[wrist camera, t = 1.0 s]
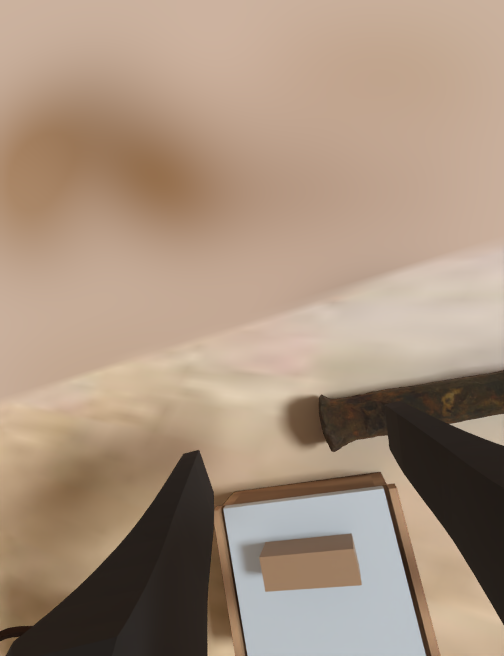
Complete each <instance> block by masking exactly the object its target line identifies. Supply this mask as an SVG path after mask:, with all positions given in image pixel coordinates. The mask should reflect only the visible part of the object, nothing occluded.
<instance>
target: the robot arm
mask: <svg viewBox="0 0 504 656" xmlns="http://www.w3.org/2000/svg"><path fill="white" fill-rule="evenodd" d="M384 408H385V415H386V423H387V431H388V439H389V447H390V450H391V452H392V454H393V456H394V458H395V459H396V461H397V463H398V465H399V466H400V468H401V470H402V471H403V473H404V475H405V476H406V477H407V479H408V480H409V481H410V483H411V484H412V485H413V487H414V488H415V489H416V491H417V492H418V494H419V495H420V496H421V498H422V499H423V500H424V502H425V503H426V504H427V506H428V507H429V508H430V510H431V511H432V512H433V514H434V515H435V516H436V518H437V519H438V520H439V522H440V523H441V524H442V526H443V527H444V528H445V530H446V531H447V533H448V534H449V535H450V537H451V538H452V540H453V541H454V543H455V544H456V546H457V548H458V549H459V551H460V552H461V554H462V556H463V557H464V559H465V560H466V562H467V564H468V565H469V567H470V569H471V570H472V572H473V573H474V575H475V577H476V578H477V580H478V582H479V583H480V585H481V587H482V589H483V590H484V592H485V594H486V595H487V597H488V599H489V600H490V602H491V604H492V605H493V607H494V609H495V611H496V612H497V614H498V616H499V618H500V619H501V621H502V623H503V625H504V446H502V445H499V444H496V443H494V442H491V441H488V440H485V439H483V438H480V437H478V436H475V435H473V434H470V433H468V432H466V431H463V430H461V429H459V428H456V427H454V426H452V425H450V424H447V423H445V422H443V421H441V420H439V419H437V418H435V417H433V416H430V415H428V414H426V413H424V412H422V411H420V410H418V409H416V408H414V407H412V406H410V405H408V404H406V403H404V402H401V401H397V402H393V403H389V404H385V405H384ZM213 529H214V492H213V489H212V486H211V483H210V480H209V477H208V474H207V472H206V469H205V466H204V463H203V460H202V457H201V454H200V451H199V450H197V451H193V452H189V453H185V454H183V456H182V457H181V459H180V460H179V462H178V463H177V465H176V467H175V468H174V470H173V471H172V473H171V475H170V476H169V478H168V479H167V481H166V483H165V484H164V486H163V487H162V489H161V490H160V492H159V493H158V495H157V496H156V498H155V499H154V501H153V502H152V504H151V505H150V506H149V508H148V509H147V511H146V512H145V513H144V515H143V516H142V518H141V519H140V520H139V522H138V523H137V524H136V525H135V527H134V528H133V529H132V530H131V532H130V533H129V534H128V535H127V536H126V538H125V539H124V540H123V541H122V542H121V543H120V545H119V546H118V547H117V548H116V549H115V550H114V551H113V552H112V553H111V554H110V555H109V557H108V558H107V559H106V560H105V561H104V562H103V563H102V564H101V565H100V566H99V567H98V568H97V569H96V570H95V571H94V572H93V573H92V574H91V575H90V576H89V577H88V578H87V579H86V580H85V581H84V582H83V583H82V584H81V585H80V586H79V587H78V588H77V589H76V590H75V591H73V592H72V593H71V594H70V595H69V596H68V597H67V598H66V599H65V600H63V601H62V602H61V603H60V604H59V605H58V606H57V607H55V608H54V609H53V610H52V611H51V612H50V613H48V614H47V615H46V616H45V617H43V618H42V619H41V620H40V621H39V622H37V623H36V624H35V625H34V626H32V627H31V628H30V629H29V630H28V631H26V632H25V633H24V634H23V635H21V636H20V637H19V638H18V639H16V640H15V641H14V642H13V644H12V645H11V647H10V649H9V651H8V653H7V655H6V656H207V600H208V583H209V573H210V562H211V551H212V541H213Z"/></svg>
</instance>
